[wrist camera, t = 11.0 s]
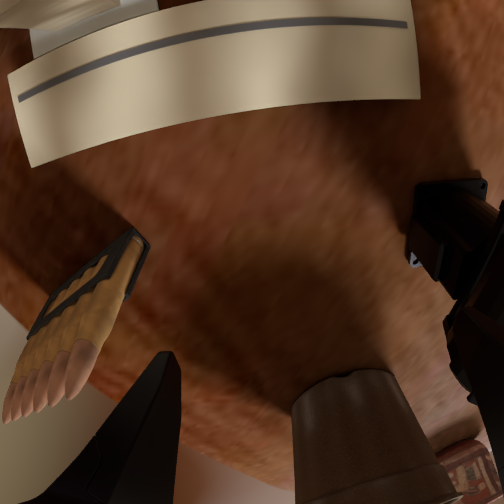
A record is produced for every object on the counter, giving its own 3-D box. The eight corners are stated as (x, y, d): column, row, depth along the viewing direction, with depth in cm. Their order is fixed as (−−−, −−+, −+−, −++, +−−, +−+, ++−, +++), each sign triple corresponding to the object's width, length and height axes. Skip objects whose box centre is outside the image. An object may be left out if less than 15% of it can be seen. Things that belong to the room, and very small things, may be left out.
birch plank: (393, 1, 13) (410, -5, 11) (403, 95, 16) (421, 99, 14) (25, 72, 14) (6, 75, 12) (47, 157, 17) (30, 168, 15)
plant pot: (440, 360, 30) (494, 482, 16) (361, 433, 38) (386, 534, 24) (320, 341, 26) (364, 527, 13) (251, 427, 34) (259, 554, 20)
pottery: (496, 423, 49) (521, 484, 33) (455, 458, 58) (472, 512, 42) (444, 440, 47) (468, 513, 31) (402, 473, 56) (418, 536, 40)
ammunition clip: (133, 225, 20) (60, 381, 10) (152, 246, 21) (98, 407, 10) (49, 295, 22) (-12, 416, 12) (65, 310, 23) (11, 433, 13)
